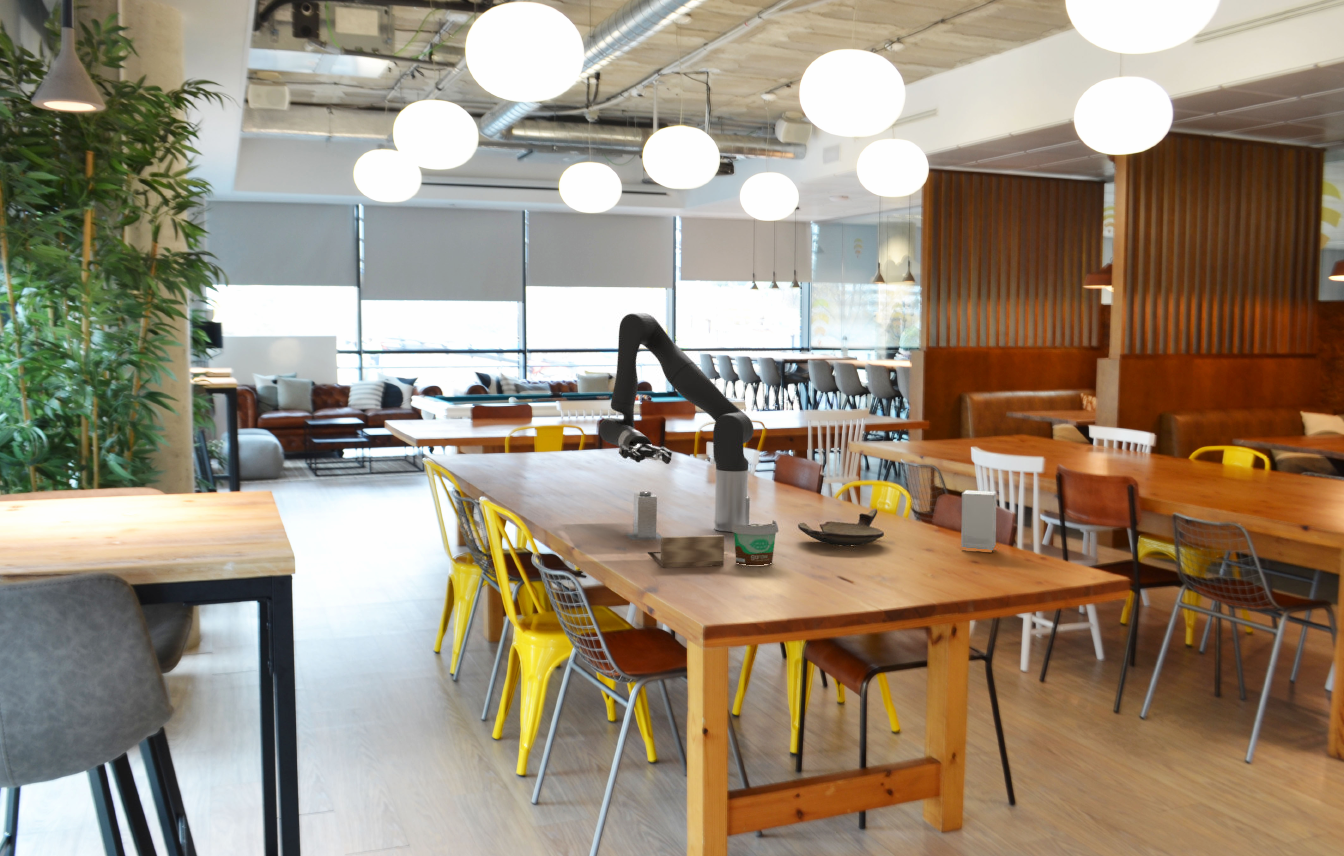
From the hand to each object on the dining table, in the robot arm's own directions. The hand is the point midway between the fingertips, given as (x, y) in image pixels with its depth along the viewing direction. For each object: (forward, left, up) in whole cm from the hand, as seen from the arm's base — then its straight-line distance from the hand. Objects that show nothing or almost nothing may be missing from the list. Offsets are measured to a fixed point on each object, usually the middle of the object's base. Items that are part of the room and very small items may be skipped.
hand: (654, 459), depth 286 cm
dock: (-1, +30, -21) cm, 37 cm away
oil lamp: (-50, +18, -21) cm, 57 cm away
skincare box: (-81, +31, -21) cm, 89 cm away
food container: (-18, +39, -21) cm, 48 cm away
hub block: (+4, +8, -19) cm, 22 cm away
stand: (+4, +8, -21) cm, 23 cm away
